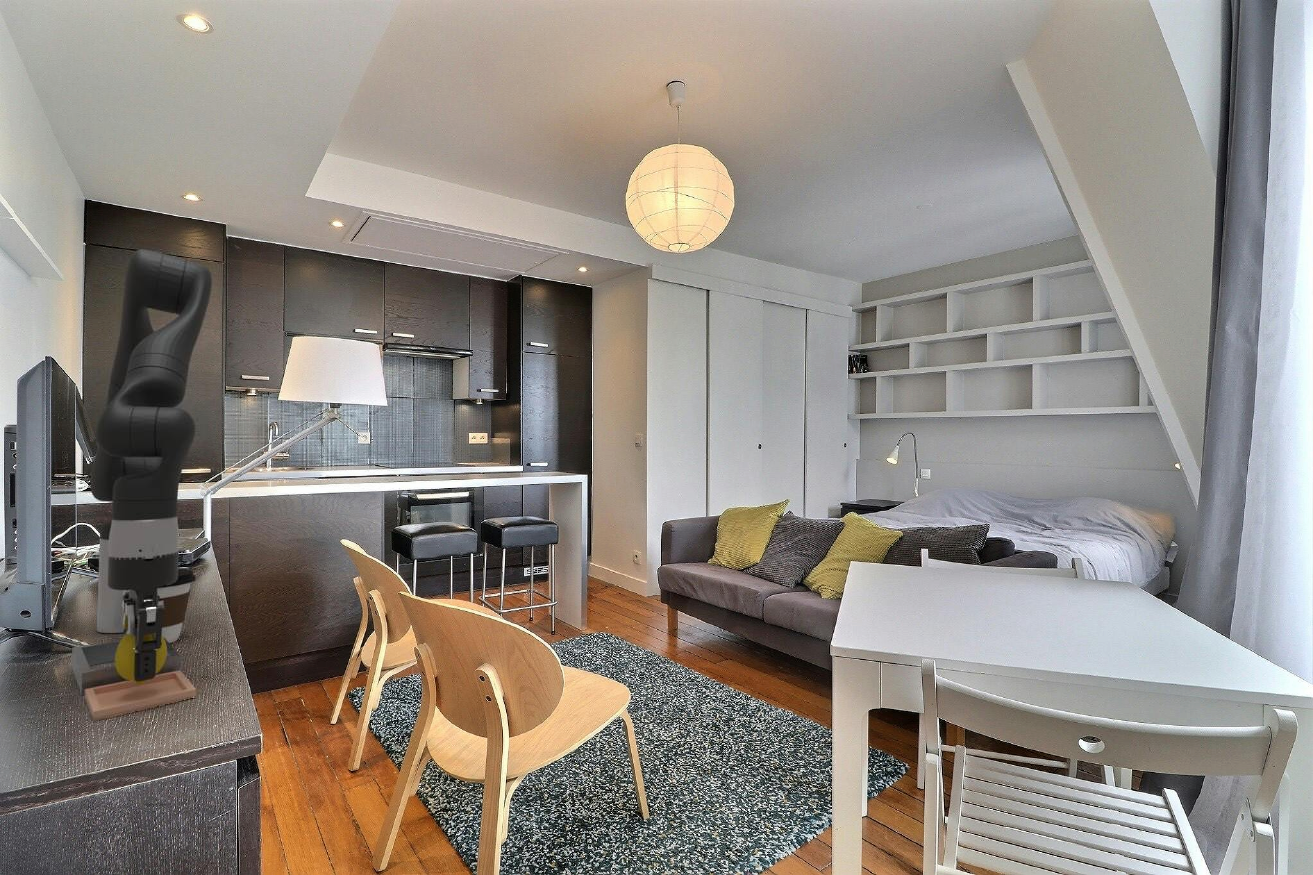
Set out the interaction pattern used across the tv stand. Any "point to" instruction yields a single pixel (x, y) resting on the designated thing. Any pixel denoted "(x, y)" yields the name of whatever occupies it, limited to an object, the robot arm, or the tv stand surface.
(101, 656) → the grey open box
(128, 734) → the tv stand surface
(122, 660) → the lemon
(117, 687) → the tray
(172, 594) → the coffee cup
